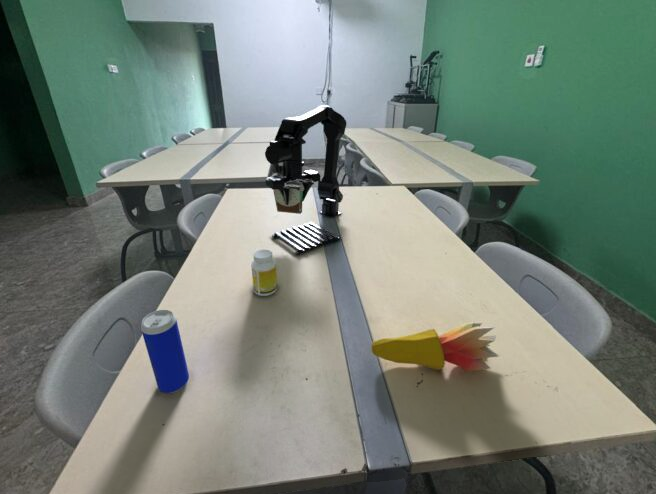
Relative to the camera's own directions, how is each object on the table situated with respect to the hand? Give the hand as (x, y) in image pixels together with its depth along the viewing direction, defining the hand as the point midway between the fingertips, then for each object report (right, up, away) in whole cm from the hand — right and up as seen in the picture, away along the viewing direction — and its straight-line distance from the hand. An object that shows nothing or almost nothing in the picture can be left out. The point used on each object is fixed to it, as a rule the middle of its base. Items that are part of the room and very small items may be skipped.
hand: (294, 202), depth 111 cm
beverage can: (-15, -37, -53) cm, 66 cm away
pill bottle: (-4, -25, -26) cm, 37 cm away
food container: (-1, -3, +2) cm, 3 cm away
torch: (+34, -35, -46) cm, 67 cm away
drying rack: (+4, -13, +1) cm, 13 cm away
